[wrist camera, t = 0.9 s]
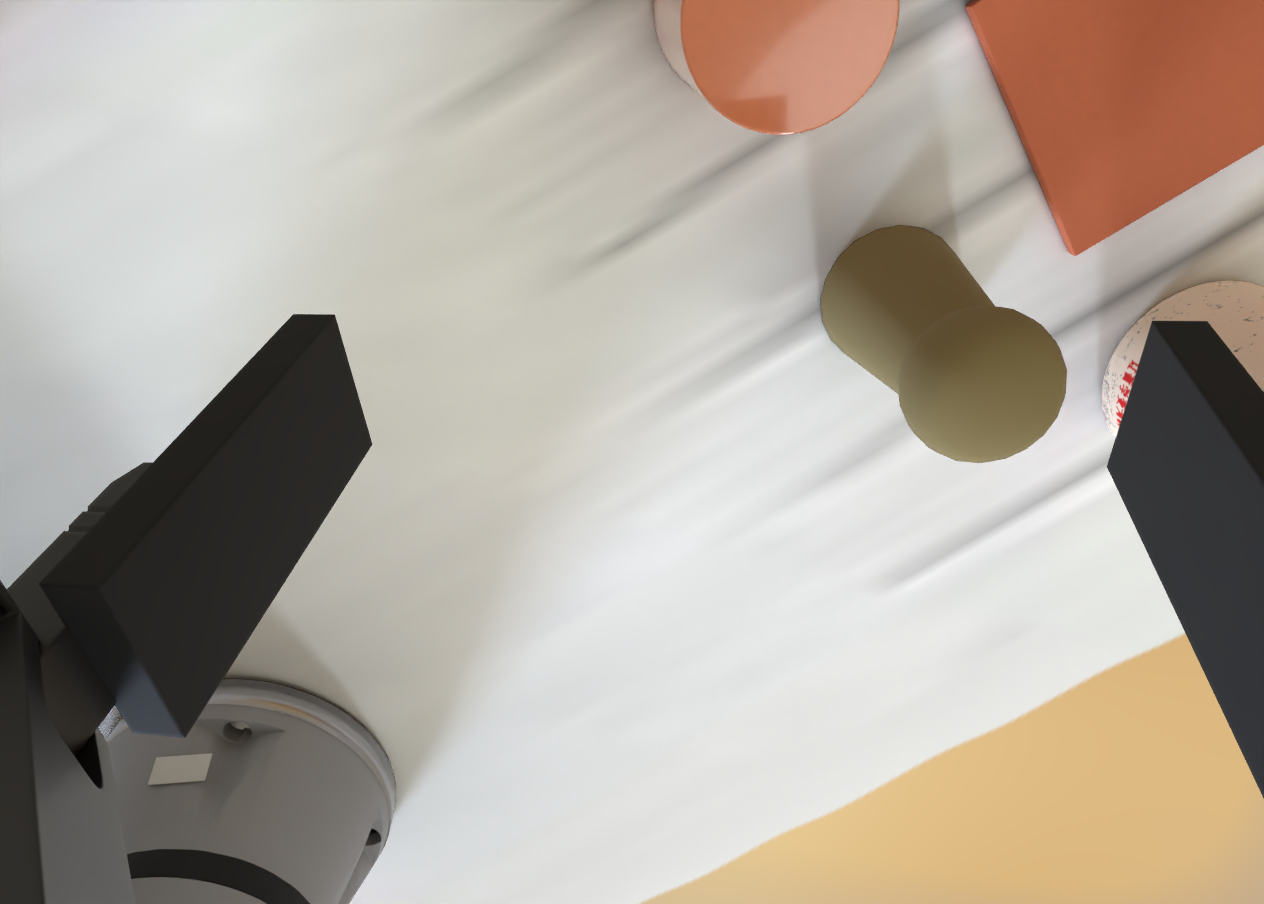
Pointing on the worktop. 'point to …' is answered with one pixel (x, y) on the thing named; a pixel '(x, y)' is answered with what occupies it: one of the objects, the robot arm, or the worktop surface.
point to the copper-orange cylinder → (778, 56)
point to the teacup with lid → (1238, 311)
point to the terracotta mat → (1125, 98)
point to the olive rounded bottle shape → (943, 345)
